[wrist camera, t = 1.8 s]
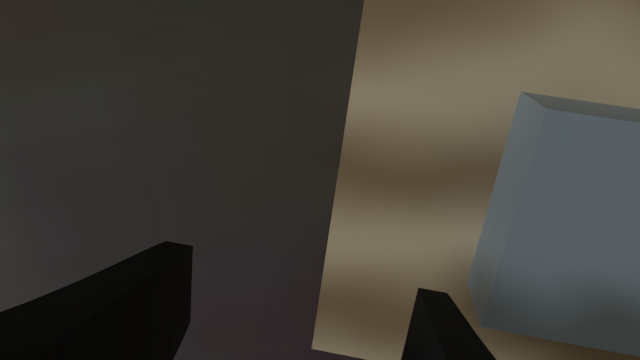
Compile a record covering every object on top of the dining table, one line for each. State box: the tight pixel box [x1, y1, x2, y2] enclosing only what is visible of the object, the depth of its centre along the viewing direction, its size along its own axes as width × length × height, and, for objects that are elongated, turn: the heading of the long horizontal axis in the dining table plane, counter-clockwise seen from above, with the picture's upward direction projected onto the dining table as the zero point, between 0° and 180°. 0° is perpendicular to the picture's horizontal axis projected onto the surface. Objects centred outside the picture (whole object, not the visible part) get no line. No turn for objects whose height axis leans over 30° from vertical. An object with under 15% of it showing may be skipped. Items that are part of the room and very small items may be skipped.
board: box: [312, 0, 640, 360], centre depth 19 cm, size 18×22×1 cm
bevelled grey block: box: [467, 92, 640, 357], centre depth 17 cm, size 8×6×3 cm
